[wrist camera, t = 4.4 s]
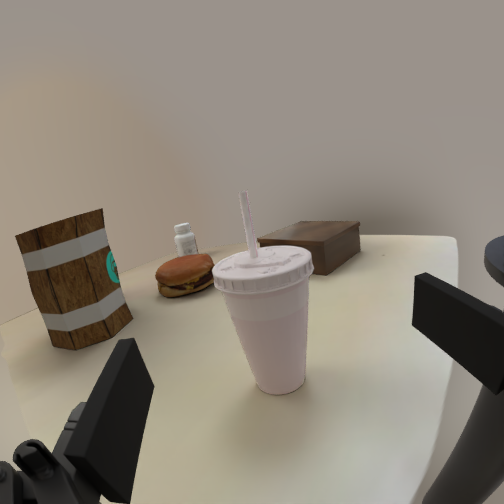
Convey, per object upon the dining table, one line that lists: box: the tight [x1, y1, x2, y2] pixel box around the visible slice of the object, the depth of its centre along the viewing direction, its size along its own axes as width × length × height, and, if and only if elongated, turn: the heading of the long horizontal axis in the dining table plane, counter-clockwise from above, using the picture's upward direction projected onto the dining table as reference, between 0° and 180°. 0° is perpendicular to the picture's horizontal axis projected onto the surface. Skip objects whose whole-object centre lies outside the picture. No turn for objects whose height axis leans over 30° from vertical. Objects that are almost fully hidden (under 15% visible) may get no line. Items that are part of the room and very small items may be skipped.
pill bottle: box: [174, 223, 198, 257], centre depth 61 cm, size 4×4×8 cm
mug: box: [15, 209, 133, 350], centre depth 36 cm, size 20×14×15 cm
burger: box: [155, 254, 215, 297], centre depth 44 cm, size 10×9×5 cm
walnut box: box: [257, 221, 361, 275], centre depth 47 cm, size 12×12×5 cm
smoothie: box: [212, 191, 314, 395], centre depth 19 cm, size 6×6×14 cm
